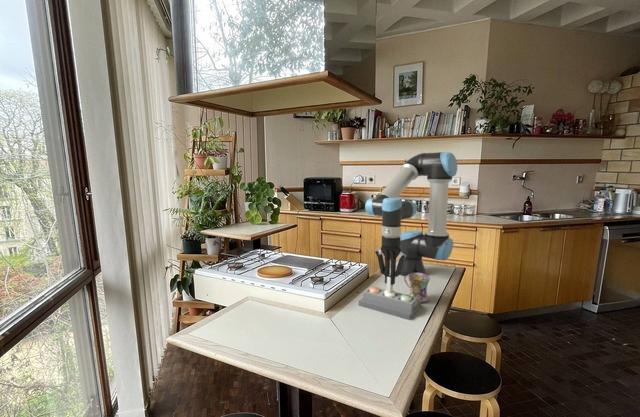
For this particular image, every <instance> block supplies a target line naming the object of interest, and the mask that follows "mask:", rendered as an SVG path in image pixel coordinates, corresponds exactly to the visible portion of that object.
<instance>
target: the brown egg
mask: <svg viewBox="0 0 640 417" xmlns="http://www.w3.org/2000/svg"><path fill="white" fill-rule="evenodd" d="M370 287H371V286H370ZM379 288H380V287H376V286H373V287H371V288H370V290H369V292H371V293H375V294H378V293H380V289H379Z"/></svg>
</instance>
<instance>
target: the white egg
mask: <svg viewBox="0 0 640 417" xmlns="http://www.w3.org/2000/svg"><path fill="white" fill-rule="evenodd" d="M395 292H396V291H395V290H394V289H393V291H392V292H390V293H389V292H387V289H385V296H387V297H391V298H394V297H395Z"/></svg>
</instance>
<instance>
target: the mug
mask: <svg viewBox="0 0 640 417" xmlns="http://www.w3.org/2000/svg"><path fill="white" fill-rule="evenodd" d="M406 277H407V278H408V281H409V283H408V282H407V280H406ZM403 280H404V283H405V284H406V286H407V287H408V288H409V294H408V295H410V296H414V297H418V301H420V302H421V303H426V302H427V301H428V300H429V296H428V293H427V290H428V284H429V282H430V280H431V276H430V275H429V274H427V273H425V274H423V273H410V274H409V275H408V276H404V277H403ZM409 284H410V285H409Z"/></svg>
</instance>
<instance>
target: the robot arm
mask: <svg viewBox="0 0 640 417" xmlns="http://www.w3.org/2000/svg"><path fill="white" fill-rule="evenodd" d="M457 172H458V162H457V158H456V156H455V155H454V153H452V152H448V151H447V152H446V151H442V152H440V151H439V152H423V153H422V152H421V153H418V154H416V155H414V156H412V157H411V158H409V159H407V161H405V162H404V163H403V164H402V166H401V167H400V170H399V172H397V174H396V175H395V176H393V179H392V180H391V181H390V182H389V183H388V184H387V185H386V186H385V188H384V189H382V191H381V192H380V193H379V194H378V195H377V197H376V198H368V199H367V201H366V202H365V205H364V206H365V208H364V209H365V212H366V213H367V214H368V215H370V216H371V215H372V216H373V217H376V216H377V217H381V218H382V219H381V221H382V222H381V235H382V236H381V247H380V249H378V250H376V251H375V252H374V253H375V255H376V257H377V262H378V266H379V271H380V274H381V275H384V283H385V284H386V290H387V292H389V293H390V292H392V291H393V290H394V288H393V286H394V285H395V283H396V278H397V277H399V276H400V275H401V276H404V277H405V276H408V275H409V274H410V273H423V274H426V269H425V265H424V261H423V258H427V259H433V260H437V261H446V260H448V259H449V258H450V256H451V254H452V251H453V248H454V242H453V241H454V240H453V239H452V238H451V237H450V233H449V232H448V231H447V216H448V202H449V201H448V198H449V184H450V182H452V180H453V177H454V176H456V175H457ZM423 176H424V177H426V179H427V180H426V181H428V183H429V198H428V199H429V201H428V203H429V204H428V205H429V206H428V223H427V224H428V226H427V230H426V231H425V232H424V231H423V230H418V229H416V230H406V231H405V230H404V231H403V232H402V231H401V230H402V220H406V219H407V220H408V219H410V218H413V217H414V216H416V214H417V211H418V208H417V205H416V203H415V202H413V201H412V200H402V199H401V198H399V197H400V196H401V194H402V193H403V192H404V190H406V189H407V187H408V186H409V185H410V183H411V182H412V181H414V180H416V179H417V178H418V177H423ZM398 257H399V259H398V263H397V258H398Z"/></svg>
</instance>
